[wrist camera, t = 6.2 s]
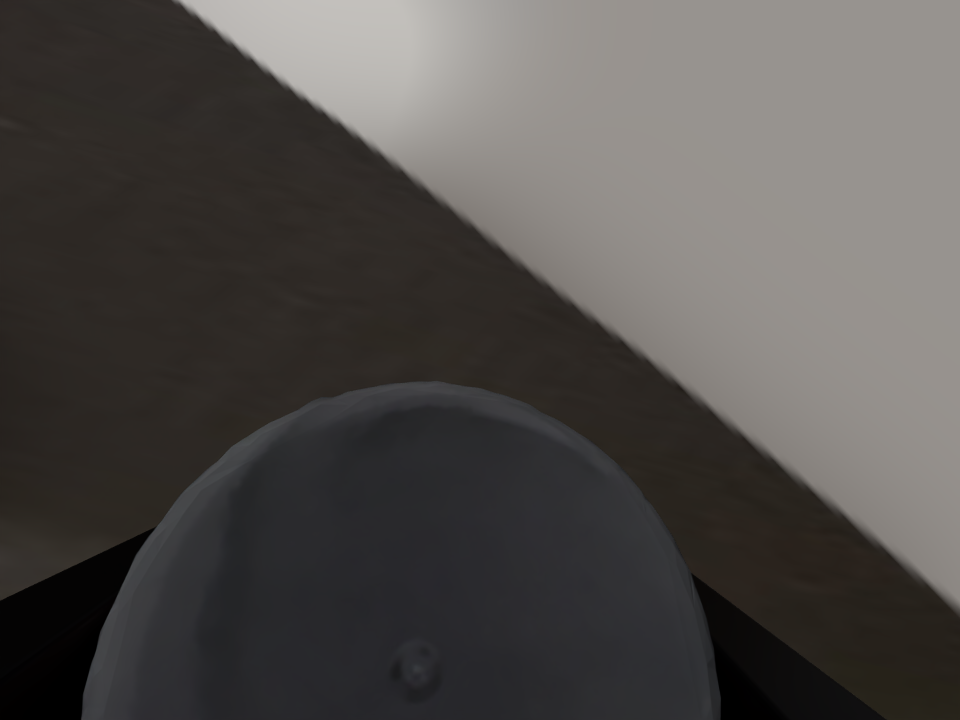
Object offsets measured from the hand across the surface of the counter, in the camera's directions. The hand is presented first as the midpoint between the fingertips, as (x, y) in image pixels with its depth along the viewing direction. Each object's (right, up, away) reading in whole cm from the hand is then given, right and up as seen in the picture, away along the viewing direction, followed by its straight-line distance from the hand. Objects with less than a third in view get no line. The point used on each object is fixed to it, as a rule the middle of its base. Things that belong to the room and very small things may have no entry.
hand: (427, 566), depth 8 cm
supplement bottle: (-1, -4, +5) cm, 7 cm away
